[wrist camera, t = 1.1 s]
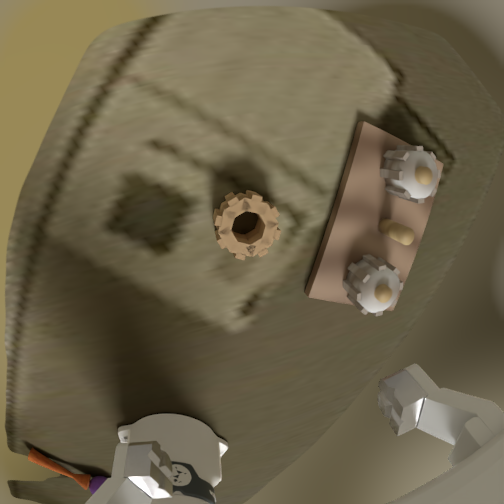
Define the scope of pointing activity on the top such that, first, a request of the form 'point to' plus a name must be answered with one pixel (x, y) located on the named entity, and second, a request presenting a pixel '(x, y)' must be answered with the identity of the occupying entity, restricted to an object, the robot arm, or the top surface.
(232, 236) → the oak gear
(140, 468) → the robot arm
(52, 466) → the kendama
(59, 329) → the top surface
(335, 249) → the gear board
